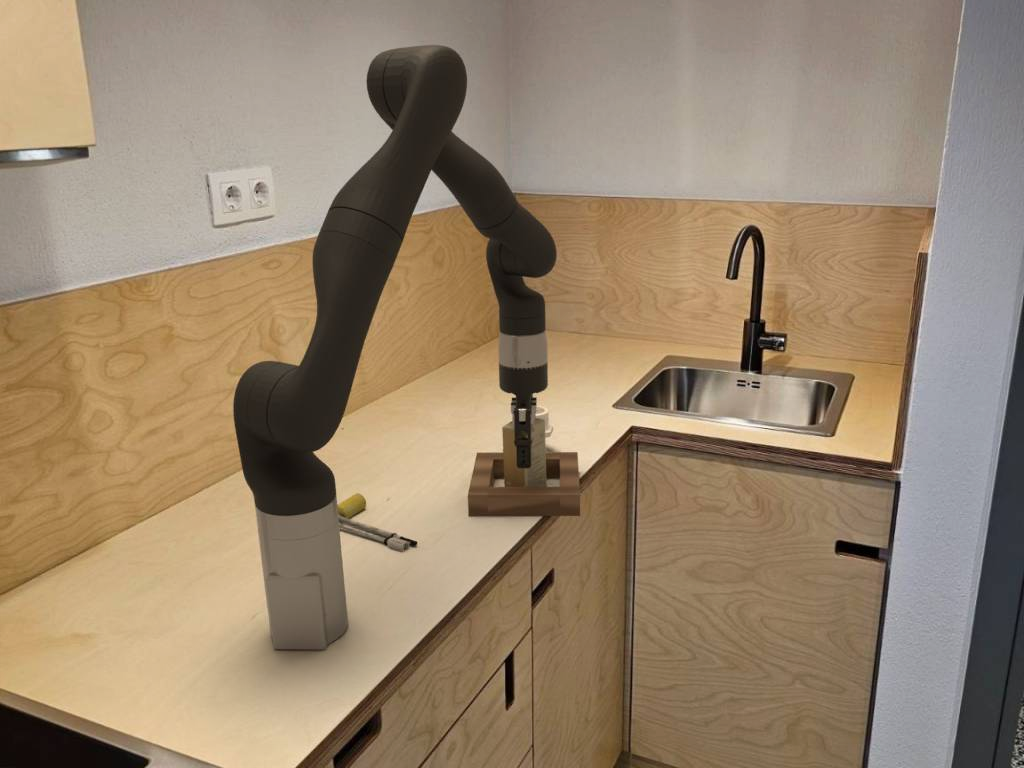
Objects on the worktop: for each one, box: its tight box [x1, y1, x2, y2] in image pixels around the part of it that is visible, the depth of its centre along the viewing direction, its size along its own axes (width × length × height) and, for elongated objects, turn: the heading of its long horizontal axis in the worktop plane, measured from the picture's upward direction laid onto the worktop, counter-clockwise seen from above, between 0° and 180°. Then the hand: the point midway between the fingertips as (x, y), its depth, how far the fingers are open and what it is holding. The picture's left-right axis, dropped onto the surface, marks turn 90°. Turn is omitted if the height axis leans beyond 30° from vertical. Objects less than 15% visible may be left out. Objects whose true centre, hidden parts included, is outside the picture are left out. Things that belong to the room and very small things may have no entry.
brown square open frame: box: [467, 451, 581, 517], centre depth 144 cm, size 17×17×4 cm
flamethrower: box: [337, 492, 418, 553], centre depth 136 cm, size 29×3×10 cm
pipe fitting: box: [535, 405, 554, 439], centre depth 159 cm, size 6×7×8 cm
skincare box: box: [501, 418, 548, 487], centre depth 142 cm, size 6×4×12 cm
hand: (524, 457), depth 142 cm, fingers open, 8 cm apart
